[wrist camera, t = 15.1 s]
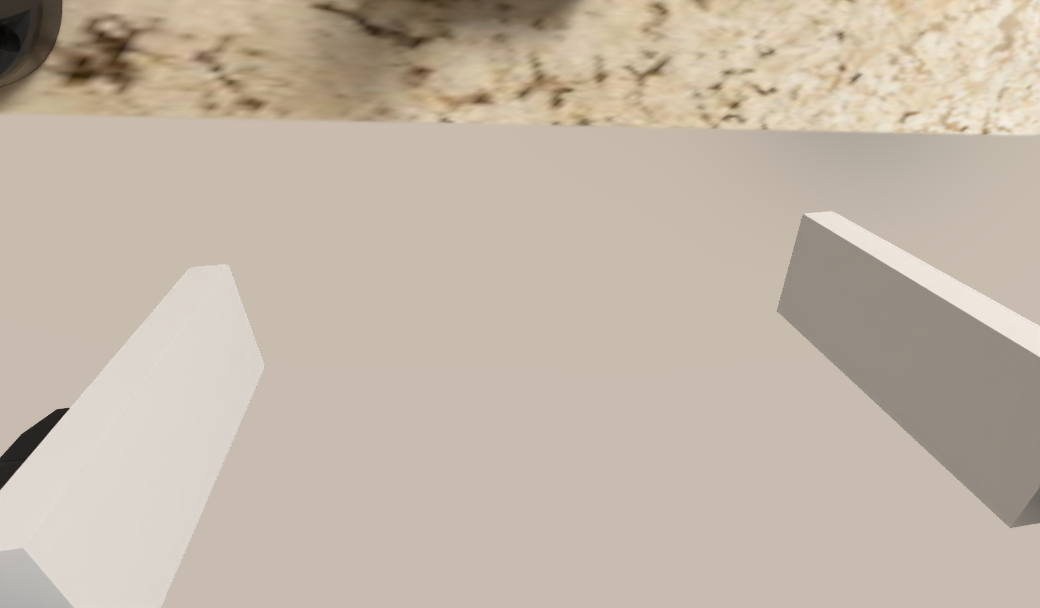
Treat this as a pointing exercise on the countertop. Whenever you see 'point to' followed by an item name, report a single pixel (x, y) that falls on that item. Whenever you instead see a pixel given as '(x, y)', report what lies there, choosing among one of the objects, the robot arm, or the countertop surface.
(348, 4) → the countertop surface
